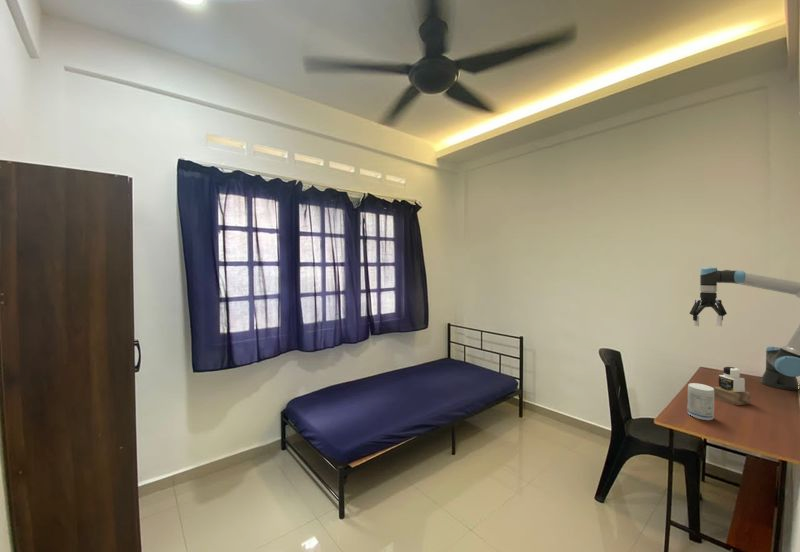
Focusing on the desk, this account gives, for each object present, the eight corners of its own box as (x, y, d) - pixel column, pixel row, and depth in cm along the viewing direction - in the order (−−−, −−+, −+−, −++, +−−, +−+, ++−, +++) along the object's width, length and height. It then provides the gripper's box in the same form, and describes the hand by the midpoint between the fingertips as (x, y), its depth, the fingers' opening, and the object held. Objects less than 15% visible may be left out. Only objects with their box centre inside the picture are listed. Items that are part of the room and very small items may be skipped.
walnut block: (727, 396, 181) (728, 386, 180) (749, 404, 171) (750, 393, 170) (712, 398, 179) (713, 387, 179) (734, 405, 169) (734, 394, 169)
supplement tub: (689, 410, 164) (690, 381, 164) (715, 416, 157) (716, 386, 156) (685, 415, 158) (685, 386, 158) (712, 423, 151) (712, 392, 150)
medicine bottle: (718, 387, 178) (718, 366, 177) (729, 387, 179) (729, 365, 178) (733, 392, 171) (733, 370, 170) (745, 391, 171) (745, 369, 171)
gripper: (723, 291, 206) (723, 324, 207) (682, 291, 207) (682, 324, 208) (735, 292, 198) (734, 326, 199) (692, 292, 200) (691, 327, 201)
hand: (707, 325), depth 204 cm, fingers open, 13 cm apart
